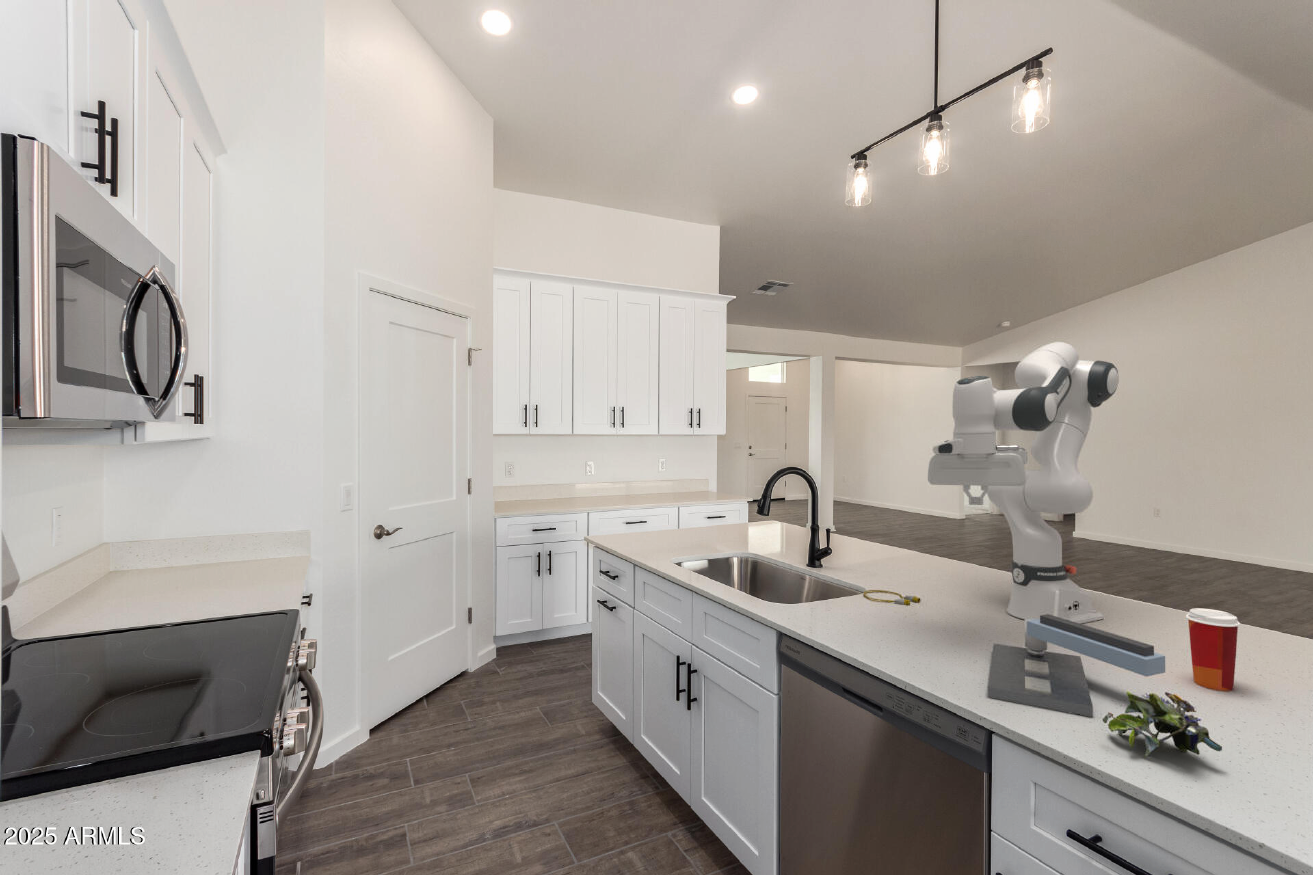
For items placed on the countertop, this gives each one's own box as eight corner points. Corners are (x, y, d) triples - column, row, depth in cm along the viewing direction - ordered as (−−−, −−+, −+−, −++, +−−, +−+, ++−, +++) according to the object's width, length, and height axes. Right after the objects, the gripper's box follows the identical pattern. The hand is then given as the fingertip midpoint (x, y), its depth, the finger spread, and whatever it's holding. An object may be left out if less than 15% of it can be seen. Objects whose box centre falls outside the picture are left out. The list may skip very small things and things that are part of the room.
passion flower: (1180, 785, 92) (1243, 741, 87) (1139, 789, 88) (1203, 744, 82) (1118, 717, 101) (1171, 674, 95) (1078, 718, 97) (1132, 673, 91)
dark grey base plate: (993, 652, 133) (993, 638, 133) (1080, 665, 125) (1080, 650, 125) (987, 697, 111) (987, 680, 111) (1092, 717, 103) (1092, 699, 103)
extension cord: (889, 609, 167) (889, 602, 167) (855, 595, 183) (855, 588, 182) (924, 605, 171) (924, 598, 171) (888, 591, 186) (888, 585, 186)
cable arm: (1018, 645, 128) (1018, 610, 128) (1035, 642, 129) (1035, 608, 129) (1146, 693, 104) (1146, 650, 104) (1165, 689, 106) (1165, 646, 106)
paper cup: (1226, 679, 117) (1225, 609, 117) (1250, 695, 110) (1249, 621, 110) (1177, 674, 120) (1177, 605, 120) (1198, 690, 112) (1197, 617, 112)
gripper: (1026, 444, 135) (1028, 504, 135) (929, 445, 146) (930, 501, 146) (1027, 445, 130) (1028, 508, 130) (925, 447, 140) (927, 504, 141)
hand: (976, 504), depth 138 cm, fingers closed
